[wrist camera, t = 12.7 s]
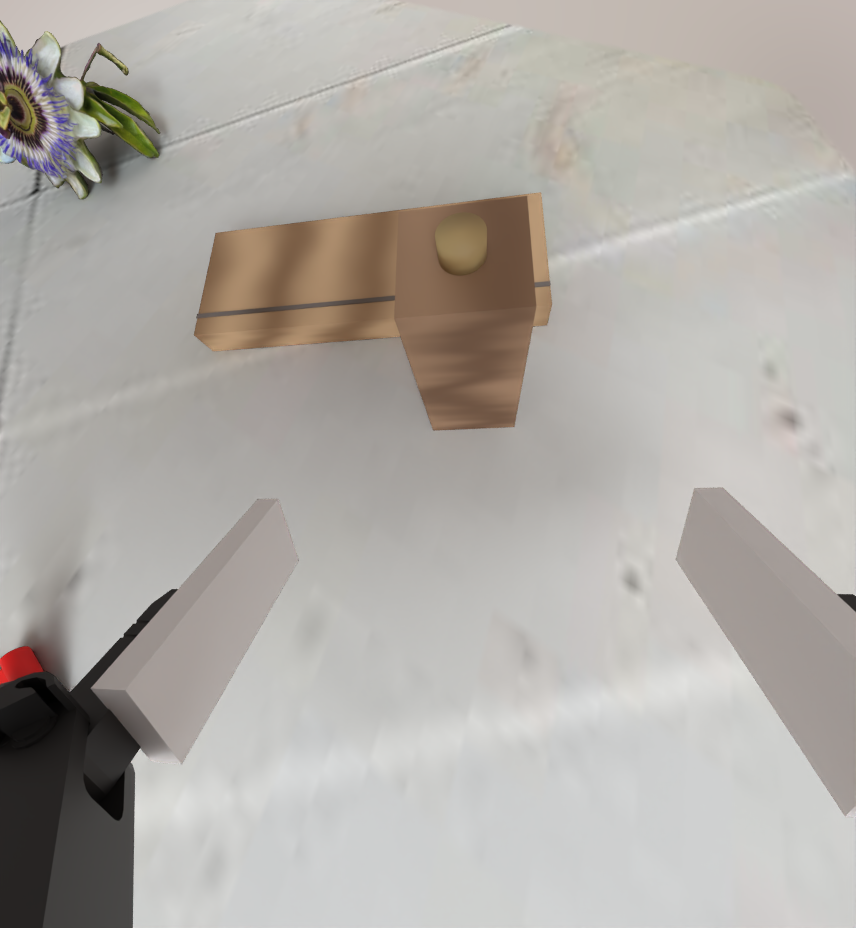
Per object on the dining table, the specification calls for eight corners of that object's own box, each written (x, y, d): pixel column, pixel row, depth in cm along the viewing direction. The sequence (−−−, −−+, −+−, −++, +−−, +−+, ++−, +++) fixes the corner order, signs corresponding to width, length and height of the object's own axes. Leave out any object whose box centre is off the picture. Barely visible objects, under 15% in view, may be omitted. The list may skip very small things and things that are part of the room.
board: (213, 351, 29) (192, 334, 27) (232, 254, 31) (214, 232, 29) (546, 325, 25) (552, 303, 23) (537, 218, 28) (541, 191, 26)
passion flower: (137, 240, 41) (-38, 175, 32) (137, 149, 43) (-31, 62, 34) (168, 174, 34) (-48, 65, 25) (167, 66, 35) (-39, -74, 26)
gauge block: (433, 430, 24) (387, 299, 13) (433, 360, 26) (392, 187, 14) (514, 426, 24) (540, 285, 12) (510, 355, 25) (530, 169, 14)
